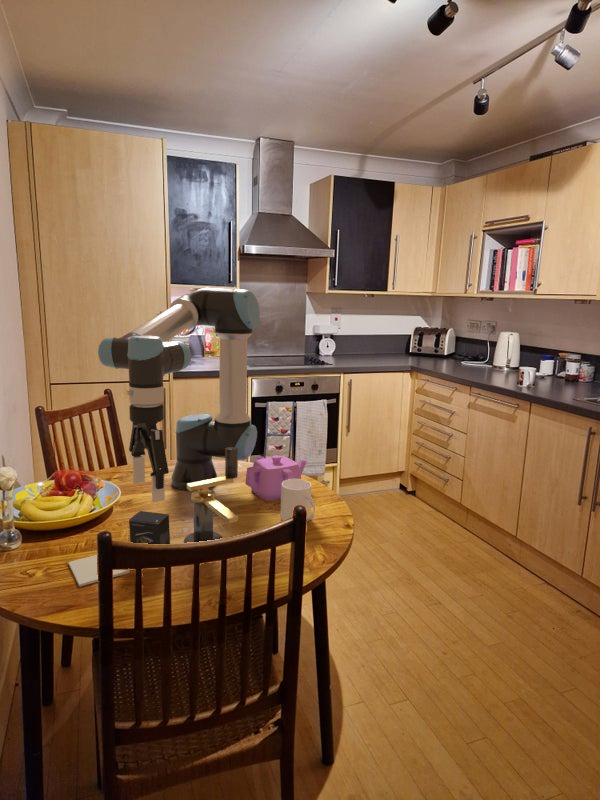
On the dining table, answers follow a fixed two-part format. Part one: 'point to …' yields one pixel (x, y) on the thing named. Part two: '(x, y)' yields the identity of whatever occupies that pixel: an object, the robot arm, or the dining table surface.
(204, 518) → the post
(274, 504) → the dining table surface
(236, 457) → the crank
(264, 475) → the teakettle
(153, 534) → the box
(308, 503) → the mug
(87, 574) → the pad
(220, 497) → the dining table surface
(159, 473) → the robot arm
